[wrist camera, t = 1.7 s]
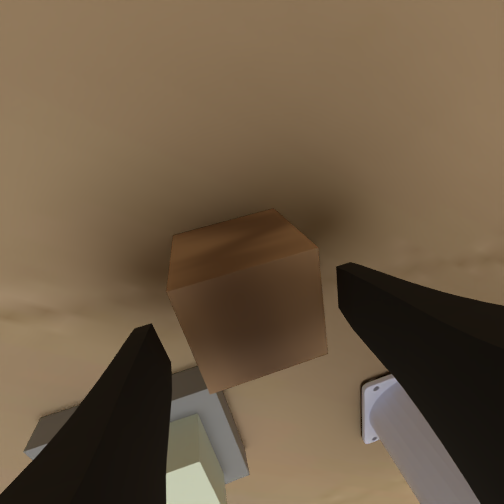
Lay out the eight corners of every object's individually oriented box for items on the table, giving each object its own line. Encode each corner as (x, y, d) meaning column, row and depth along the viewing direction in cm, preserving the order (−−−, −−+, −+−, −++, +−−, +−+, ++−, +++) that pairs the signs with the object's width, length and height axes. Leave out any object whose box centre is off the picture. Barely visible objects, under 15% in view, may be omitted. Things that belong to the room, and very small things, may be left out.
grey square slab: (209, 352, 17) (213, 386, 15) (242, 438, 21) (249, 474, 19) (46, 406, 16) (23, 451, 13) (118, 485, 20) (109, 529, 18)
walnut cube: (272, 207, 13) (318, 247, 9) (286, 289, 15) (328, 353, 11) (173, 234, 12) (166, 292, 8) (202, 315, 15) (210, 394, 10)
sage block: (197, 413, 15) (199, 461, 13) (223, 474, 18) (229, 521, 16) (70, 455, 14) (49, 515, 12) (120, 511, 17) (111, 567, 15)
